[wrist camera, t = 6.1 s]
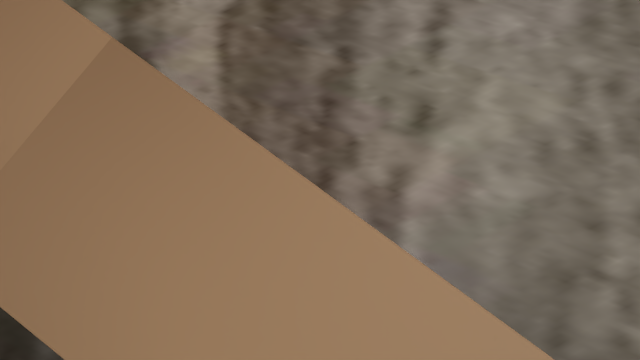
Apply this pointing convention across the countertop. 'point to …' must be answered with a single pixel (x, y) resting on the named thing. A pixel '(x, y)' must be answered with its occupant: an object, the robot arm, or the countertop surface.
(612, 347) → the countertop surface
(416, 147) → the countertop surface
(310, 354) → the gate
